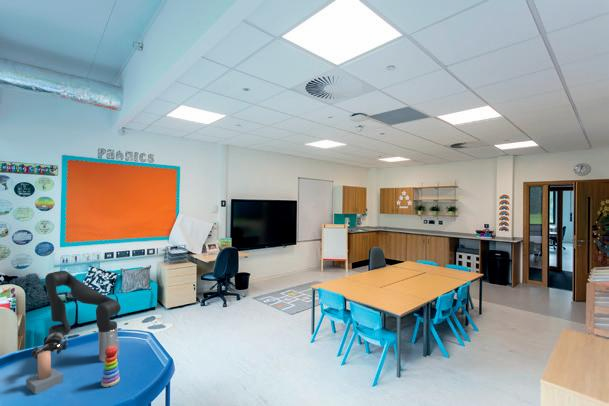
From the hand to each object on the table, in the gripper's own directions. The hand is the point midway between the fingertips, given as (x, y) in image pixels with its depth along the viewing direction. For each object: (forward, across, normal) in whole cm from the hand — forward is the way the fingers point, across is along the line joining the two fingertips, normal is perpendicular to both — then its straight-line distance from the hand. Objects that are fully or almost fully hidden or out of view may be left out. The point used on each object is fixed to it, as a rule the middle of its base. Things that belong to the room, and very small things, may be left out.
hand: (47, 354), depth 157 cm
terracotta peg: (+6, 0, +8) cm, 10 cm away
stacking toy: (+21, +29, +13) cm, 38 cm away
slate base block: (+6, 0, +12) cm, 14 cm away
